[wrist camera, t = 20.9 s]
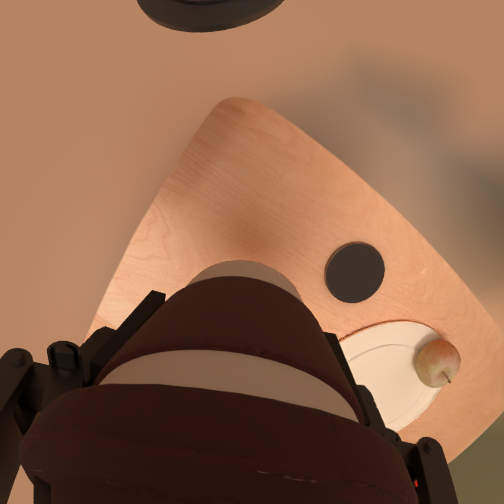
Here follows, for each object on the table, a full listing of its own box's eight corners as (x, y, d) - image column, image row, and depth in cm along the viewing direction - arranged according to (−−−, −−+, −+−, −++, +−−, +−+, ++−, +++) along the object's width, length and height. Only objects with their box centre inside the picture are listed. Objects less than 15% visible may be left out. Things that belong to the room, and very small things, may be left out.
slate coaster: (335, 234, 35) (336, 236, 34) (390, 249, 35) (392, 251, 34) (316, 294, 37) (317, 296, 36) (370, 305, 37) (372, 307, 36)
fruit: (446, 357, 39) (468, 384, 31) (411, 376, 40) (429, 406, 32) (445, 323, 37) (471, 349, 29) (407, 343, 38) (429, 373, 30)
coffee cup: (135, 328, 17) (5, 519, 3) (217, 196, 15) (-86, 377, 1) (260, 401, 19) (254, 607, 4) (358, 297, 16) (499, 528, 2)
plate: (325, 458, 46) (326, 461, 45) (262, 372, 40) (262, 375, 39) (451, 397, 42) (452, 399, 41) (433, 286, 36) (436, 288, 35)
